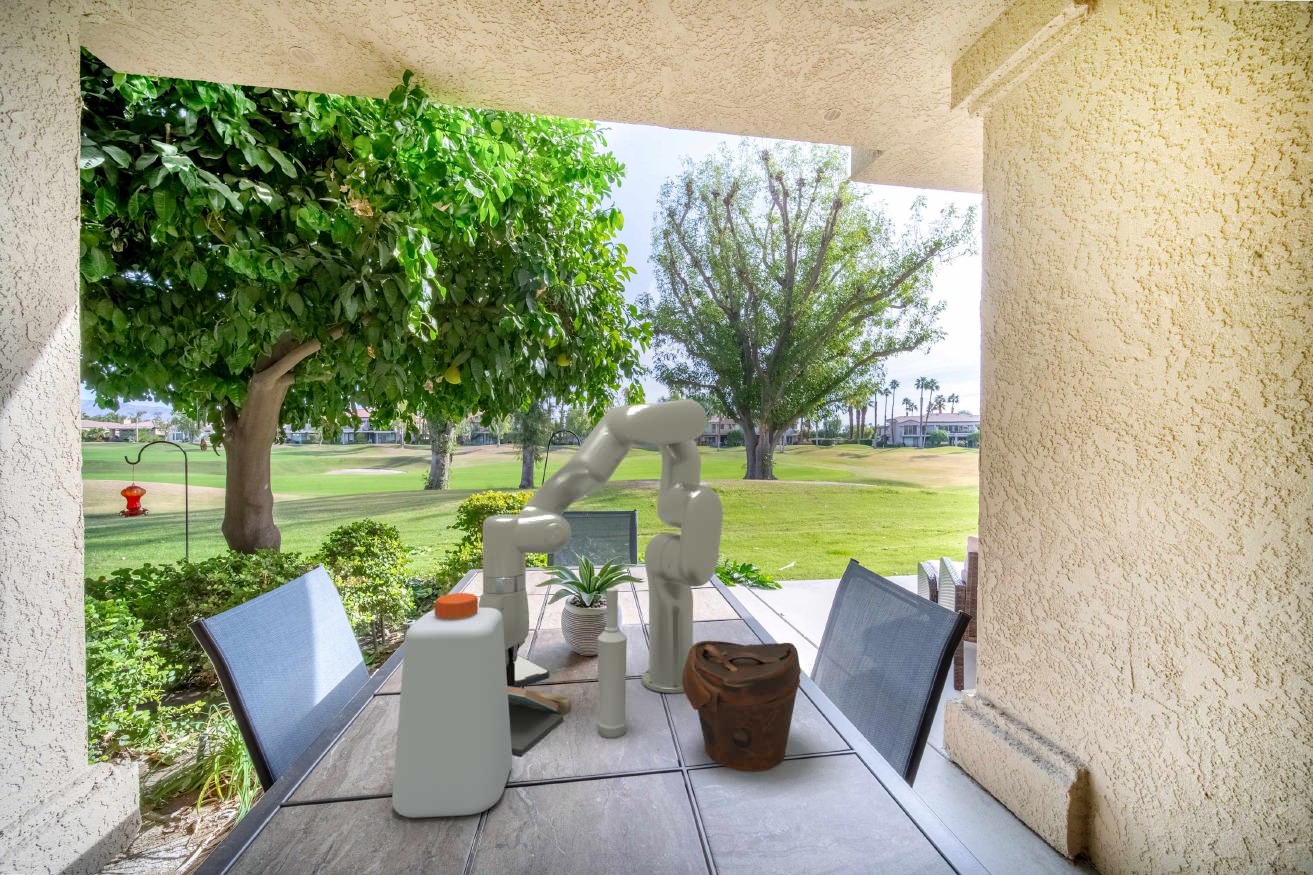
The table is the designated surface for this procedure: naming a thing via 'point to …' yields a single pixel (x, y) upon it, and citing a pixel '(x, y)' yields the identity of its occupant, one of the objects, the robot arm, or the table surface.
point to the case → (743, 700)
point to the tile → (529, 698)
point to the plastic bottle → (453, 712)
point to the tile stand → (562, 702)
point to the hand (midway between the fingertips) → (504, 685)
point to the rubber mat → (530, 727)
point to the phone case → (528, 672)
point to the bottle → (612, 672)
